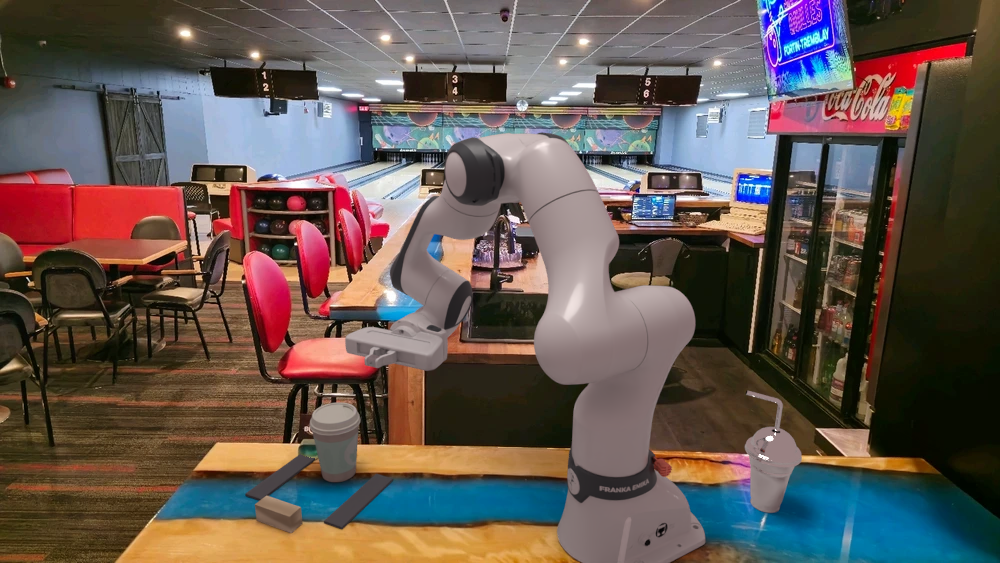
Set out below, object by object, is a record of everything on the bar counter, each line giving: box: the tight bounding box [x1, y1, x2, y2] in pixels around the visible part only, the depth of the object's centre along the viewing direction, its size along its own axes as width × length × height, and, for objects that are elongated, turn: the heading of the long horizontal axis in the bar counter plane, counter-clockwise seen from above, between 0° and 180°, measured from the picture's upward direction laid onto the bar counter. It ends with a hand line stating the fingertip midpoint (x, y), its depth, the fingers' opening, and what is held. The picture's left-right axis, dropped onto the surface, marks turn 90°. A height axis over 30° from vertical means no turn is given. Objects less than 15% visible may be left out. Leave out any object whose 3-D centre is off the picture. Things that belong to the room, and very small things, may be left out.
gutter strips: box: [245, 453, 394, 530], centre depth 106 cm, size 14×20×1 cm
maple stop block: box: [254, 495, 303, 534], centre depth 97 cm, size 2×7×3 cm, turn 65°
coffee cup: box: [309, 402, 361, 483], centre depth 109 cm, size 8×8×12 cm
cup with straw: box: [744, 390, 803, 514], centre depth 100 cm, size 8×9×20 cm
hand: (370, 363), depth 116 cm, fingers closed
